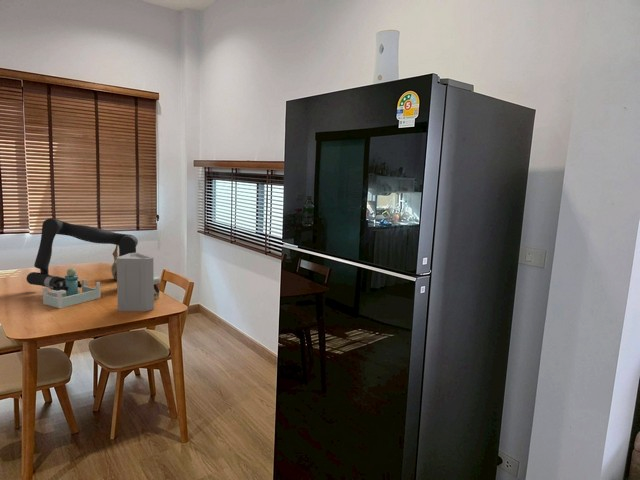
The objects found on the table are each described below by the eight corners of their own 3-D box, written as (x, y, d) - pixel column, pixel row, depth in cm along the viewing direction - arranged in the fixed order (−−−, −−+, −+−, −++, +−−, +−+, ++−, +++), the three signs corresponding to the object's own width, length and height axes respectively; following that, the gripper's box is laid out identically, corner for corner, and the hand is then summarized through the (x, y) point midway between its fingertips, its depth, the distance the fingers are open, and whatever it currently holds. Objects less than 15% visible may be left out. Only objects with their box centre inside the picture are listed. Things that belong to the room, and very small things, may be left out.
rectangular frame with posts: (43, 303, 221) (42, 287, 220) (84, 294, 242) (84, 279, 241) (59, 308, 215) (58, 291, 214) (100, 297, 236) (100, 282, 235)
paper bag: (111, 306, 223) (109, 255, 219) (138, 301, 234) (137, 252, 230) (126, 315, 210) (125, 261, 206) (154, 309, 221) (154, 258, 217)
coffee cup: (154, 300, 236) (154, 280, 234) (139, 299, 237) (139, 278, 236) (163, 296, 245) (163, 276, 243) (149, 294, 247) (149, 275, 245)
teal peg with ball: (81, 299, 232) (80, 267, 230) (75, 302, 226) (74, 269, 224) (69, 298, 232) (68, 267, 229) (63, 302, 226) (61, 269, 223)
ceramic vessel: (130, 281, 275) (130, 244, 272) (116, 283, 269) (115, 245, 265) (121, 276, 287) (121, 240, 283) (107, 278, 280) (106, 241, 277)
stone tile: (46, 294, 238) (46, 291, 237) (67, 290, 248) (66, 286, 248) (59, 298, 232) (59, 294, 232) (80, 293, 243) (80, 289, 243)
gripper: (41, 278, 227) (61, 283, 220) (67, 273, 240) (86, 278, 233) (42, 292, 228) (61, 296, 221) (68, 286, 241) (86, 291, 234)
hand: (74, 287), depth 227 cm, fingers open, 7 cm apart
